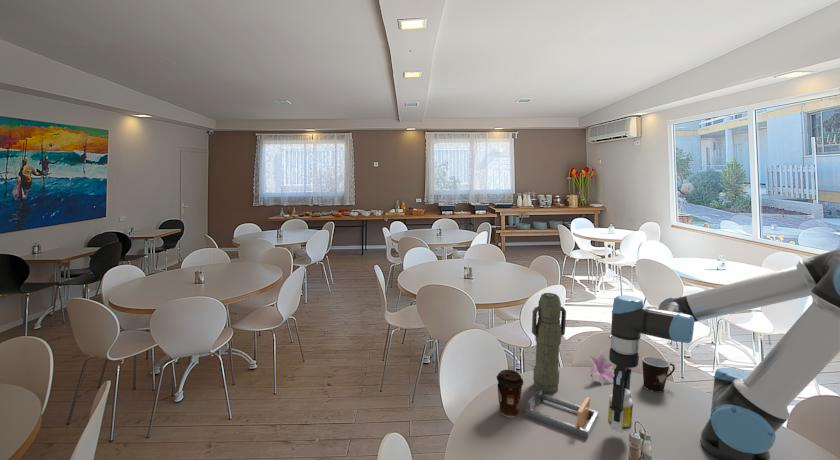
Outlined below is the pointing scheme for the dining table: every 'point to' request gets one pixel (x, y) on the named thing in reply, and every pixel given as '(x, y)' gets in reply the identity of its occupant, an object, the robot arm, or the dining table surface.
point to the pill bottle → (626, 413)
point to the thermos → (548, 341)
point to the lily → (601, 368)
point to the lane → (557, 422)
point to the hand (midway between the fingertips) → (618, 424)
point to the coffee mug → (655, 372)
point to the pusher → (582, 412)
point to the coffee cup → (509, 392)
